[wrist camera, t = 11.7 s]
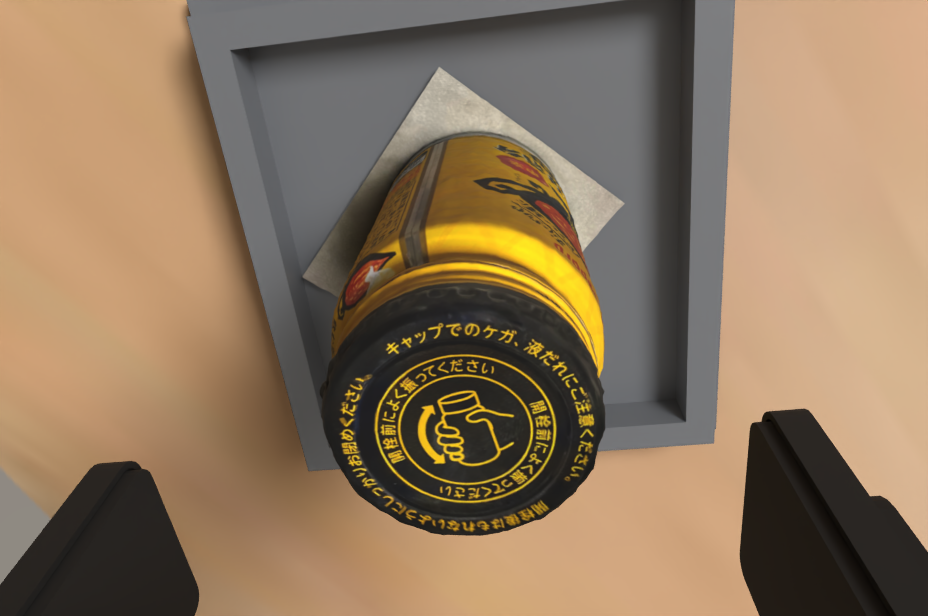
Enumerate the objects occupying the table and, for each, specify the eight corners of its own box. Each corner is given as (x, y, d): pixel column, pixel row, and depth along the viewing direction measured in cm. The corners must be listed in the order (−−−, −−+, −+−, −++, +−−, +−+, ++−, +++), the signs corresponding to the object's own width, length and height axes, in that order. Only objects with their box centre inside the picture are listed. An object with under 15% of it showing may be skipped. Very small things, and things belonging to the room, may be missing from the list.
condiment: (624, 201, 23) (740, 407, 12) (473, 379, 26) (456, 670, 15) (439, 65, 21) (378, 159, 10) (304, 273, 24) (148, 512, 13)
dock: (193, -3, 21) (163, -1, 19) (731, -75, 20) (756, -81, 18) (312, 448, 28) (298, 482, 26) (711, 419, 27) (727, 453, 25)
